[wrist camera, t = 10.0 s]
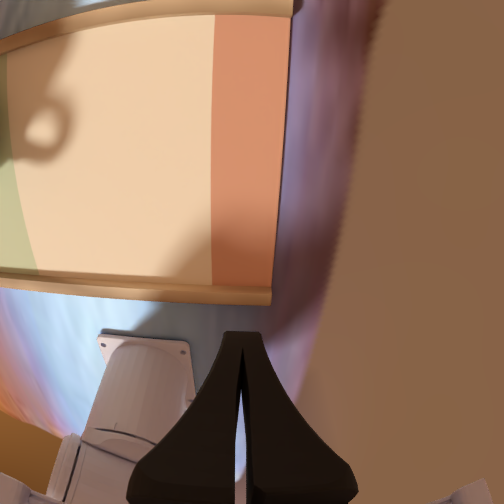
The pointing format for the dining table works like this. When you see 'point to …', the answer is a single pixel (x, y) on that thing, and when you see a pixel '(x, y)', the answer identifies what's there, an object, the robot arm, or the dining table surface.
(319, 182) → the dining table surface
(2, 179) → the beige flat rectangular board
